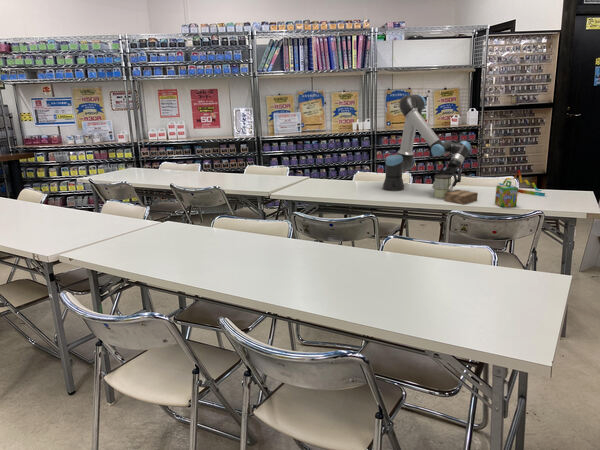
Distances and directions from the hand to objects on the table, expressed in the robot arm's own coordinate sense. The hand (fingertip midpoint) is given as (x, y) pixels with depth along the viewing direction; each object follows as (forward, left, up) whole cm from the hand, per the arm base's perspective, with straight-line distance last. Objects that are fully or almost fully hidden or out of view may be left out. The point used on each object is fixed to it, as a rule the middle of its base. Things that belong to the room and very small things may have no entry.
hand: (441, 188), depth 300 cm
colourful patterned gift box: (+38, +10, -6) cm, 40 cm away
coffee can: (-1, +2, -6) cm, 7 cm away
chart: (+27, +49, -6) cm, 57 cm away
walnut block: (+13, +2, -6) cm, 15 cm away
